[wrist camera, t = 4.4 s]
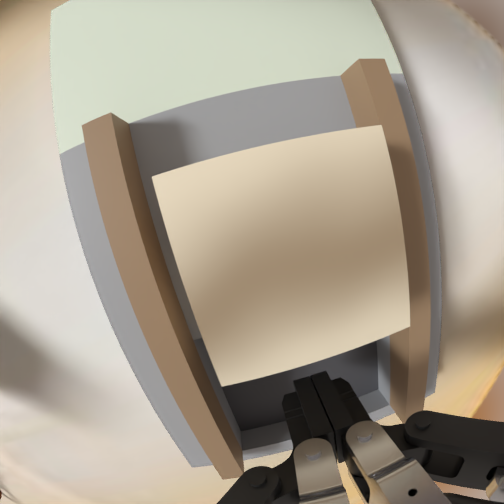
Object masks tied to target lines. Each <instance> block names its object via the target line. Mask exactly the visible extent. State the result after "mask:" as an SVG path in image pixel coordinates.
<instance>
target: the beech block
mask: <svg viewBox="0 0 504 504" xmlns="http://www.w3.org/2000/svg"><path fill="white" fill-rule="evenodd" d="M152 180H153V184H154V188H155V192H156V195H157V199H158V203H159V206H160V210H161V213H162V217H163V220H164V224H165V227H166V231H167V234H168V237H169V241H170V244H171V247H172V250H173V254H174V257H175V260H176V263H177V266H178V269H179V272H180V276H181V279H182V282H183V285H184V288H185V291H186V293H187V296H188V299H189V302H190V305H191V308H192V311H193V314H194V316H195V319H196V322H197V325H198V327H199V330H200V333H201V335H202V338H203V341H204V343H205V346H206V349H207V351H208V354H209V356H210V359H211V361H212V364H213V367H214V369H215V372H216V374H217V376H218V379H219V381H220V384H221V386H222V387H223V386H227V385H232V384H236V383H241V382H245V381H249V380H253V379H257V378H261V377H265V376H269V375H273V374H276V373H280V372H284V371H287V370H291V369H294V368H297V367H301V366H304V365H307V364H311V363H314V362H317V361H320V360H323V359H326V358H329V357H332V356H335V355H338V354H341V353H344V352H347V351H349V350H352V349H355V348H358V347H360V346H363V345H366V344H368V343H371V342H374V341H376V340H379V339H381V338H384V337H386V336H389V335H391V334H393V333H396V332H398V331H401V330H403V329H405V328H408V327H410V301H409V283H408V270H407V259H406V250H405V241H404V233H403V226H402V219H401V213H400V206H399V200H398V195H397V189H396V184H395V179H394V174H393V169H392V165H391V160H390V156H389V152H388V148H387V144H386V140H385V136H384V132H383V128H382V125H376V126H368V127H361V128H353V129H347V130H340V131H334V132H328V133H322V134H317V135H311V136H306V137H301V138H295V139H291V140H286V141H281V142H276V143H272V144H267V145H263V146H258V147H254V148H250V149H246V150H242V151H238V152H234V153H230V154H226V155H222V156H219V157H215V158H211V159H208V160H204V161H201V162H197V163H194V164H190V165H187V166H184V167H180V168H177V169H174V170H171V171H167V172H164V173H161V174H158V175H155V176H152Z"/></svg>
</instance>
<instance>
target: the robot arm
mask: <svg viewBox="0 0 504 504" xmlns="http://www.w3.org/2000/svg"><path fill="white" fill-rule="evenodd" d="M293 384H294V388H295V392H292V393H289V394H285V395H284V398H283V401H282V407H283V410H284V414H285V418H286V422H287V425H288V429H289V433H290V437H291V440H292V444H293V451H292V453H291V455H290V457H289V458H288V459H287V460H286V461H285V462H283V463H282V464H280V465H278V466H276V467H274V468H269V467H266V466H258V467H253V468H251V469H249V470H247V471H246V472H244V473H243V474H242V475H241V476H240V478H239V479H238V480H237V481H236V482H235V484H234V485H233V486H232V487H231V488H230V489H229V491H228V492H227V493H226V494H225V495H224V496H223V497H222V498H221V500H220V501H219V502H218V503H217V504H350V503H349V500H348V496H347V493H346V490H345V488H344V487H343V484H342V480H341V477H340V473H339V470H338V466H337V460H338V462H339V463H341V462H344V461H345V462H346V465H347V467H348V474H349V477H350V479H351V480H352V482H353V484H354V486H355V488H356V490H357V491H358V493H359V495H360V497H361V499H362V500H363V502H364V504H504V422H497V421H488V420H481V419H473V418H467V417H460V416H454V415H449V414H443V413H438V412H432V411H419V412H416V413H414V414H412V415H411V416H410V417H409V418H408V419H407V420H406V423H404V424H398V425H393V426H383V425H380V424H378V423H376V422H374V421H373V420H372V419H371V418H370V416H369V415H368V413H367V411H366V410H365V408H364V406H363V405H362V403H361V401H360V400H359V398H358V397H357V395H356V393H355V392H354V391H353V388H352V387H351V385H350V383H349V382H347V381H346V380H344V379H342V378H341V377H339V378H336V379H334V380H331V379H330V377H329V375H328V373H327V371H323V372H319V373H316V374H313V375H310V377H309V376H307V377H304V378H300V379H297V380H293ZM434 481H437V482H442V483H446V484H451V485H456V486H461V487H467V488H473V489H480V490H486V494H487V496H488V498H489V500H490V501H489V500H483V499H477V498H473V497H467V496H462V495H458V494H453V493H443V492H442V491H441V490H440V489H439V487H438V486H437V485H436V484H435V482H434Z"/></svg>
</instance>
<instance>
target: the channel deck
mask: <svg viewBox="0 0 504 504" xmlns="http://www.w3.org/2000/svg"><path fill="white" fill-rule="evenodd" d="M50 72H51V90H52V102H53V112H54V120H55V128H56V135H57V142H58V148H59V154H60V160H61V165H62V170H63V175H64V180H65V185H66V189H67V193H68V198H69V202H70V206H71V210H72V214H73V217H74V221H75V225H76V228H77V232H78V235H79V238H80V242H81V245H82V248H83V251H84V254H85V258H86V261H87V264H88V266H89V269H90V272H91V275H92V278H93V281H94V283H95V286H96V289H97V291H98V294H99V297H100V299H101V302H102V304H103V307H104V309H105V312H106V314H107V316H108V319H109V321H110V323H111V326H112V328H113V330H114V333H115V335H116V337H117V339H118V341H119V343H120V346H121V348H122V350H123V352H124V354H125V356H126V358H127V360H128V362H129V364H130V366H131V368H132V370H133V372H134V374H135V376H136V378H137V380H138V382H139V383H140V385H141V387H142V389H143V391H144V393H145V394H146V396H147V398H148V400H149V401H150V403H151V405H152V407H153V408H154V410H155V412H156V413H157V415H158V417H159V418H160V420H161V422H162V423H163V425H164V426H165V428H166V430H167V431H168V433H169V434H170V436H171V437H172V439H173V440H174V442H175V443H176V445H177V446H178V448H179V449H180V451H181V452H182V454H183V455H184V457H185V458H186V459H187V461H188V462H189V464H190V465H191V466H192V467H200V466H209V465H214V467H215V468H216V470H217V471H218V473H219V474H220V476H221V477H222V479H230V478H236V477H240V476H241V475H242V474H243V473H244V464H243V460H247V459H253V458H258V457H262V456H267V455H271V454H276V453H280V452H284V451H288V450H292V449H293V444H292V440H291V437H290V433H289V429H288V425H287V422H286V418H285V414H284V410H283V407H282V401H283V398H284V395H285V394H289V393H292V392H295V388H294V384H293V380H297V379H300V378H304V377H307V376H309V377H310V375H313V374H316V373H319V372H323V371H327V373H328V375H329V377H330V379H331V380H334V379H336V378H339V377H341V378H342V379H344V380H346V381H347V382H349V383H350V385H351V387H352V388H353V391H354V392H355V393H356V395H357V397H358V398H359V400H360V401H361V403H362V405H363V406H364V408H365V410H366V411H367V413H368V415H369V416H370V418H371V419H372V420H373V421H374V422H375V421H377V420H379V419H382V418H384V417H386V416H388V415H391V414H393V413H396V414H397V416H398V417H399V418H400V420H401V421H402V423H403V424H404V423H406V420H407V419H408V418H409V417H410V416H411V415H412V414H414V413H416V412H419V411H423V407H424V400H425V397H427V396H429V395H431V394H433V393H435V387H436V379H437V371H438V362H439V351H440V337H441V313H442V281H441V257H440V243H439V232H438V222H437V214H436V206H435V199H434V192H433V186H432V180H431V175H430V169H429V164H428V159H427V155H426V150H425V146H424V142H423V137H422V133H421V130H420V126H419V122H418V118H417V115H416V111H415V108H414V105H413V101H412V98H411V95H410V92H409V89H408V86H407V83H406V80H405V77H404V74H403V72H402V69H401V66H400V64H399V61H398V58H397V56H396V53H395V51H394V48H393V46H392V44H391V41H390V39H389V37H388V34H387V32H386V30H385V28H384V26H383V24H382V21H381V19H380V17H379V15H378V13H377V11H376V9H375V7H374V5H373V3H372V2H371V0H69V1H68V2H66V3H64V4H62V5H60V6H58V7H57V8H55V9H53V10H51V25H50ZM376 125H382V128H383V132H384V136H385V140H386V144H387V148H388V152H389V156H390V160H391V165H392V169H393V174H394V179H395V184H396V189H397V195H398V200H399V206H400V213H401V219H402V226H403V233H404V241H405V250H406V259H407V270H408V283H409V301H410V327H408V328H405V329H403V330H401V331H398V332H396V333H393V334H391V335H389V336H386V337H384V338H381V339H379V340H376V341H374V342H371V343H368V344H366V345H363V346H360V347H358V348H355V349H352V350H349V351H347V352H344V353H341V354H338V355H335V356H332V357H329V358H326V359H323V360H320V361H317V362H314V363H311V364H307V365H304V366H301V367H297V368H294V369H291V370H287V371H284V372H280V373H276V374H273V375H269V376H265V377H261V378H257V379H253V380H249V381H245V382H241V383H236V384H232V385H227V386H223V387H222V386H221V384H220V381H219V379H218V376H217V374H216V372H215V369H214V367H213V364H212V361H211V359H210V356H209V354H208V351H207V349H206V346H205V343H204V341H203V338H202V335H201V333H200V330H199V327H198V325H197V322H196V319H195V316H194V314H193V311H192V308H191V305H190V302H189V299H188V296H187V293H186V291H185V288H184V285H183V282H182V279H181V276H180V272H179V269H178V266H177V263H176V260H175V257H174V254H173V250H172V247H171V244H170V241H169V237H168V234H167V231H166V227H165V224H164V220H163V217H162V213H161V210H160V206H159V203H158V199H157V195H156V192H155V188H154V184H153V180H152V176H155V175H158V174H161V173H164V172H167V171H171V170H174V169H177V168H180V167H184V166H187V165H190V164H194V163H197V162H201V161H204V160H208V159H211V158H215V157H219V156H222V155H226V154H230V153H234V152H238V151H242V150H246V149H250V148H254V147H258V146H263V145H267V144H272V143H276V142H281V141H286V140H291V139H295V138H301V137H306V136H311V135H317V134H322V133H328V132H334V131H340V130H347V129H353V128H361V127H368V126H376Z"/></svg>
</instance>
